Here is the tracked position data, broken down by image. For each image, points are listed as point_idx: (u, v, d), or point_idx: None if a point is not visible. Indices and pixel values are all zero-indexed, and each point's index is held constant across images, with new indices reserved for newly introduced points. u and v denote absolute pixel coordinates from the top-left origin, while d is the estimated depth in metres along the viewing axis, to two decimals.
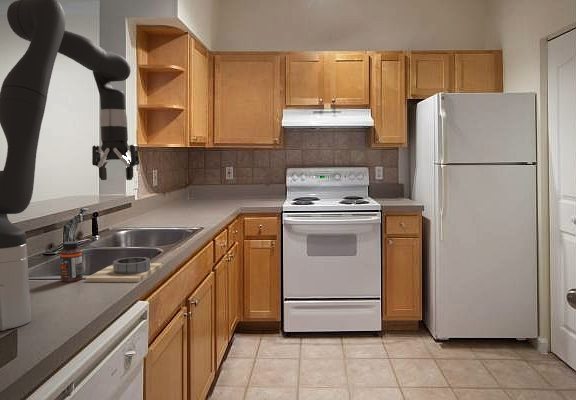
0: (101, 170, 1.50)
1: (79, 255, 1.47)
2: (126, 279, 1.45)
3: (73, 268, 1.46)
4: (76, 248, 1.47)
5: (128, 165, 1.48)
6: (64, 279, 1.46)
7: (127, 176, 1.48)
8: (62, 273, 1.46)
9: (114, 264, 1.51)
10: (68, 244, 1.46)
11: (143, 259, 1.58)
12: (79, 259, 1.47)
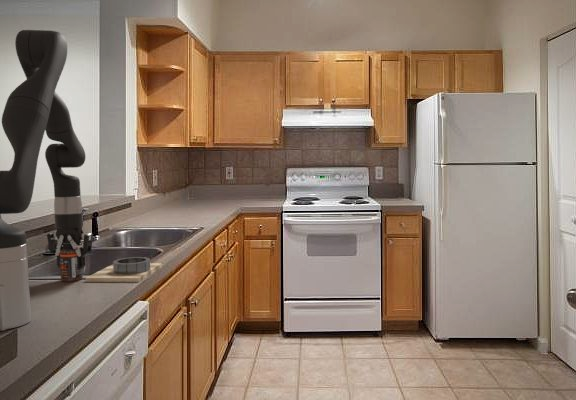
0: (59, 258, 1.48)
1: None
2: (126, 279, 1.45)
3: (73, 268, 1.46)
4: None
5: (79, 254, 1.46)
6: (64, 279, 1.46)
7: (79, 265, 1.47)
8: (62, 273, 1.46)
9: (114, 264, 1.51)
10: (68, 244, 1.46)
11: (143, 259, 1.58)
12: None
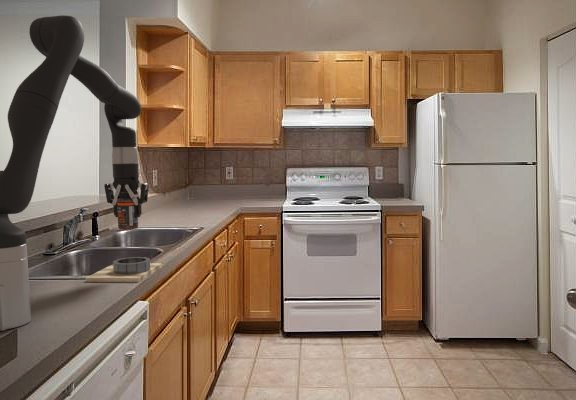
0: (116, 208, 1.53)
1: None
2: (126, 279, 1.45)
3: (131, 216, 1.51)
4: None
5: (136, 203, 1.51)
6: (121, 227, 1.51)
7: (135, 214, 1.52)
8: (120, 221, 1.51)
9: (114, 264, 1.51)
10: (125, 193, 1.51)
11: (143, 259, 1.58)
12: None
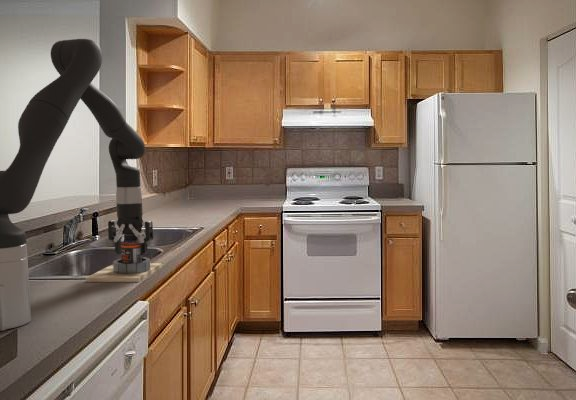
0: (117, 245, 1.54)
1: (139, 246, 1.54)
2: (126, 279, 1.45)
3: (135, 258, 1.52)
4: (137, 239, 1.54)
5: (143, 241, 1.52)
6: None
7: (142, 251, 1.53)
8: None
9: (114, 264, 1.51)
10: (129, 235, 1.52)
11: (143, 259, 1.58)
12: (139, 250, 1.54)
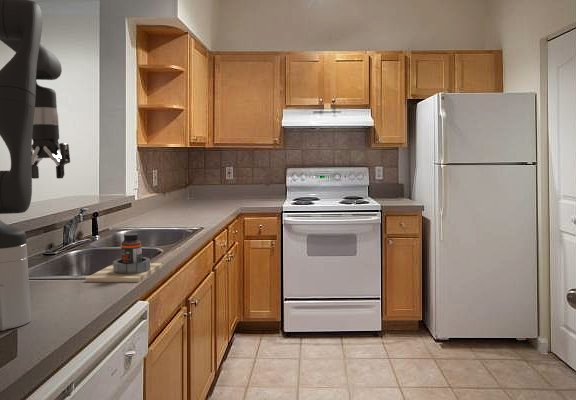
0: (32, 168, 1.50)
1: (139, 246, 1.54)
2: (126, 279, 1.45)
3: (134, 258, 1.52)
4: (137, 239, 1.54)
5: (58, 163, 1.47)
6: None
7: (57, 174, 1.48)
8: None
9: (114, 264, 1.51)
10: (129, 236, 1.52)
11: (143, 259, 1.58)
12: (139, 250, 1.54)
